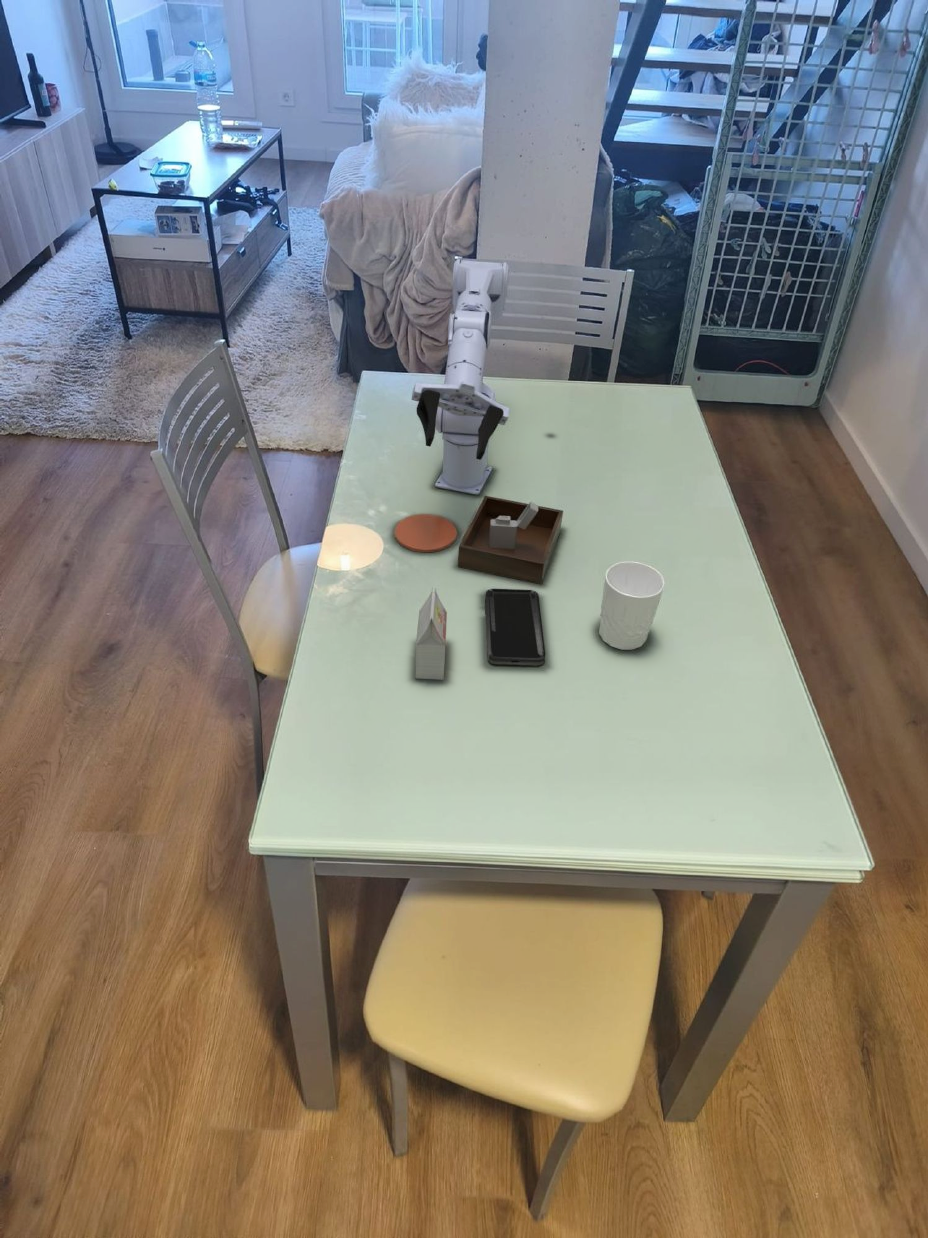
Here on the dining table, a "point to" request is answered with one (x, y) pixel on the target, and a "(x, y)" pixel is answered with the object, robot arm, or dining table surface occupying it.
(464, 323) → the robot arm
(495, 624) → the phone
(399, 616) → the dining table surface
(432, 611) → the milk carton
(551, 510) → the tray
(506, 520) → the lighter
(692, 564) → the dining table surface
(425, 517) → the coaster
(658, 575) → the white cup
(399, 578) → the dining table surface
